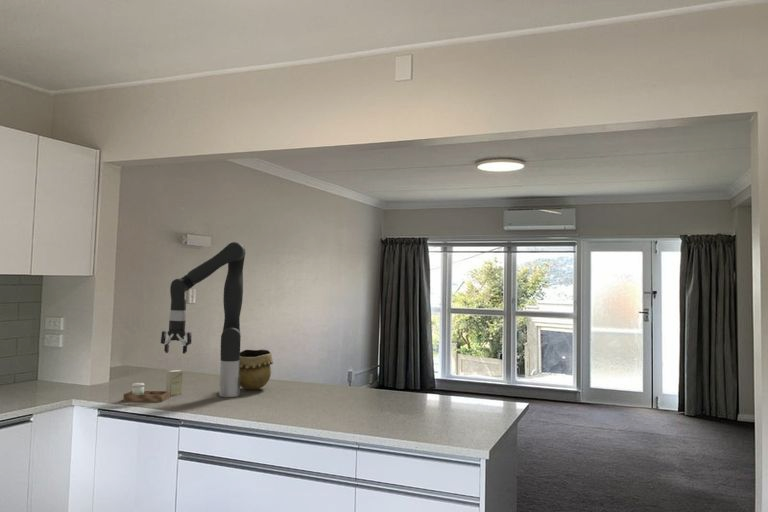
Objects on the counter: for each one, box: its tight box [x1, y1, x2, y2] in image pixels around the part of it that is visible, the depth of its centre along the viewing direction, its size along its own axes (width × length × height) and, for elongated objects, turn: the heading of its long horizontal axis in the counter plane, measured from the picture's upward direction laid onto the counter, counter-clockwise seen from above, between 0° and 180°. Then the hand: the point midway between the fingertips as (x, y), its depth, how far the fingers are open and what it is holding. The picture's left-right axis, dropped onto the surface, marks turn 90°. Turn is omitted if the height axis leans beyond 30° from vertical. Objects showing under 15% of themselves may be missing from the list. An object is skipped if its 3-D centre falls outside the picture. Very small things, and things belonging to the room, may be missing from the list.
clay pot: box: [239, 348, 274, 391], centre depth 299 cm, size 21×21×20 cm
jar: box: [131, 382, 145, 394], centre depth 266 cm, size 5×5×7 cm
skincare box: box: [165, 369, 184, 397], centre depth 278 cm, size 6×4×12 cm
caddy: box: [122, 390, 171, 403], centre depth 266 cm, size 18×9×4 cm, turn 90°
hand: (175, 353), depth 279 cm, fingers open, 8 cm apart
